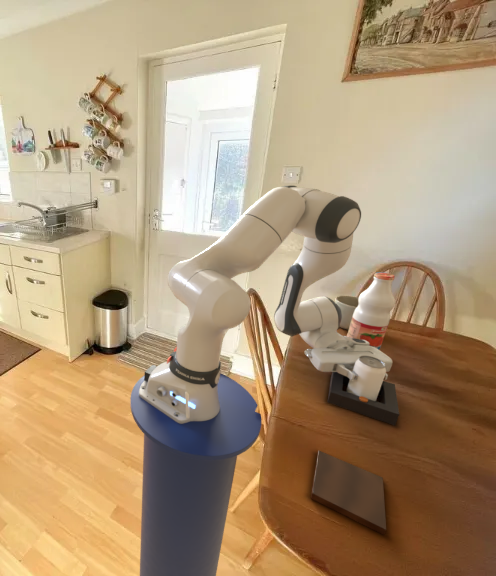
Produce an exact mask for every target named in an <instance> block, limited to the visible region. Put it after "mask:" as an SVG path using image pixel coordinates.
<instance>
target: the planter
mask: <svg viewBox="0 0 496 576" xmlns="http://www.w3.org/2000/svg"><path fill="white" fill-rule="evenodd" d="M358 299H359V296H354V295H338V296H336V297H335V299H334V302H335V303H336V304H337V305H338V306H339V307H340V309H341V313H342V319H341V323H340V326H339V328H341V329H343V330H347V331H348V330H349V327H350V324H351V320H352V317H353V313H354V311H355V309H356V308H357V307H358V305H359V303H358Z"/></svg>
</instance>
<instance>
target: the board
mask: <svg viewBox="0 0 496 576" xmlns="http://www.w3.org/2000/svg"><path fill="white" fill-rule="evenodd" d="M310 493H311V494H310V499H311V500H313V501H315V502H317V503H319V504H321V505H323V506H324V507H327V508H328V509H331V510H333V511H335V512H337V513H339V514H340V515H342V516H344V517H346V518H349V519H351V520H352V521H355V522H356V523H359V524H361V525H363V526H365V527H367V528H368V529H371V530H372V531H375V532H377V533H379V534H381V535H382V536H384V535H385V533H386V531H387V519H386V518H387V517H386V504H385V491H384V478H383V476H380V475H378V474H375V473H373V472H370V471H368V470H366V469H364V468H361V467H358V466H357V465H354V464H352V463H349V462H347V461H345V460H342V459H340V458H339V457H335V456H333V455H331V454H329V453H326V452H323V451H321V450H318V451H317V455H316V461H315V467H314V473H313V479H312V487H311V492H310Z"/></svg>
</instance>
